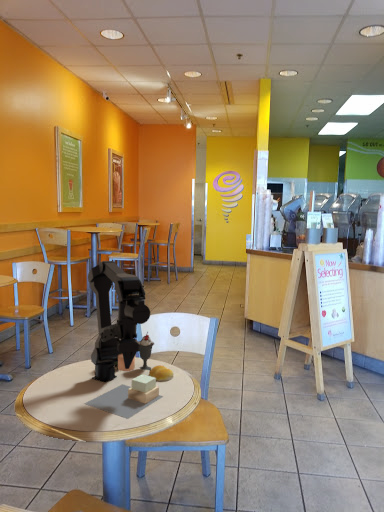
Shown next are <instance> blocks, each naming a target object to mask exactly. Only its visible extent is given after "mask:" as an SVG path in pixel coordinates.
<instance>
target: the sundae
mask: <svg viewBox="0 0 384 512" xmlns="http://www.w3.org/2000/svg"><path fill="white" fill-rule="evenodd" d="M148 333H149V332H148V331H146V333H145V335H144V336H142V338H141V340H138V342H139V344H140V351H139V358H140V359H142V361H143V363H142V366H140V367H138V368H139V369H140V370H142V371H150V370H151V369H152V367H151V366H148V365H147V363H148V360H149V359H150V358H151V356H152V351H153V350H152V349H153V346H154V345H155V342H154V341H153V340H152V339H151V337H150V335H149V334H148Z"/></svg>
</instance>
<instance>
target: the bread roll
mask: <svg viewBox="0 0 384 512" xmlns="http://www.w3.org/2000/svg"><path fill="white" fill-rule="evenodd" d="M148 376H151V377H154V378H156V382H162V381H163V382H165V381H167V382H168V381H171V380H172V379H173V378H174V371H173V370H172V369H170V368H167V367H166V366H164V365H155V366H154V367H151V370H149V372H148Z"/></svg>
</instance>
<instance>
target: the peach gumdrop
mask: <svg viewBox="0 0 384 512" xmlns="http://www.w3.org/2000/svg"><path fill="white" fill-rule="evenodd" d="M135 363H136V356H135V357H134V359H133V361H132V363H131V365H130V367H129V369H125V364H124V358H123V354H119V355H118V366H117V369H118V371H120V372H132V371H133V370H135V368H136V366H135V365H136V364H135Z"/></svg>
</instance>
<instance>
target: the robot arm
mask: <svg viewBox="0 0 384 512" xmlns="http://www.w3.org/2000/svg"><path fill="white" fill-rule="evenodd" d="M87 281H88V282H89V288H90V289H91V291H92V292H93V293H94V294H95V295H94V296H95V306H96V317H97V319H96V320H97V329H98V331H97V333H98V335H97V338H96V340H95V342H94V349H93V351H91V354H90V361H91V363H93V365H94V376H93V377H91V379H92V380H94V381H97V382H101V383H107V382H110V381H112V380H114V379H117V377H118V376H117V375H116V366H115V365H114V362H118V355H119V354H120V352H121V353H122V354H123V358H124V364H125V369H129V367H130V365H131V363H132V361H133V359H134V357H135V358H136V354H137V353H138V352H139V351H140V344H139V340H137V338H138V333H137V325H138V324H139V325H142V324H145V323H146V322H148V321H149V319H150V317H151V310H150V308H149V306H148V305H147V304H145V300H146V291H145V289H144V287H143V284H142V281H141V279H140V278H139V276H137V275H134V274H131V273H130V274H129V273H127V272H125V271H124V270H123V269H122V268H121V267H120V266H118V265H117V263H116V261H114V260H102V261H99V263H98V264H97V265H96V266H93V267H92V268H91V269H89V271H88V273H87ZM113 284H114V291H115V294H116V296H117V297H116V300H117V301H118V302H117V303H118V307H117V308H118V312H117V319H116V323H113V324H112V316H111V315H112V313H111V306H110V305H111V303H110V294H109V293H110V291H111V290H112V289H111V288H112V287H113ZM115 337H117V338H115Z"/></svg>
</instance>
